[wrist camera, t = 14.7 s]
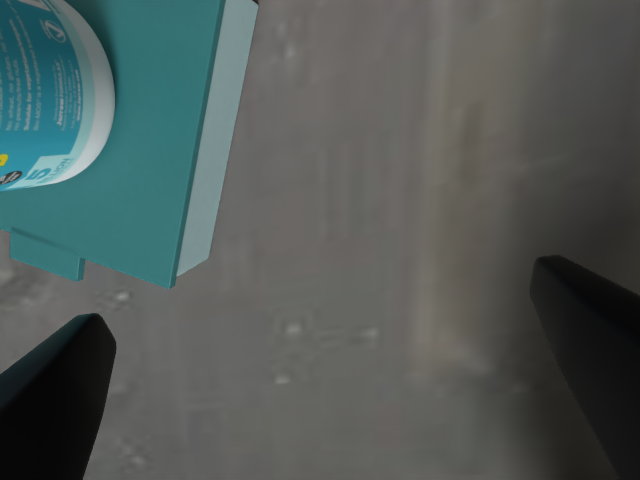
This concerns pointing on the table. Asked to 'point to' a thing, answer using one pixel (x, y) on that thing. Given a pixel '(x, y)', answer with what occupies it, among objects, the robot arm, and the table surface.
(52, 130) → the pill bottle
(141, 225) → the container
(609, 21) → the table surface
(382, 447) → the table surface
